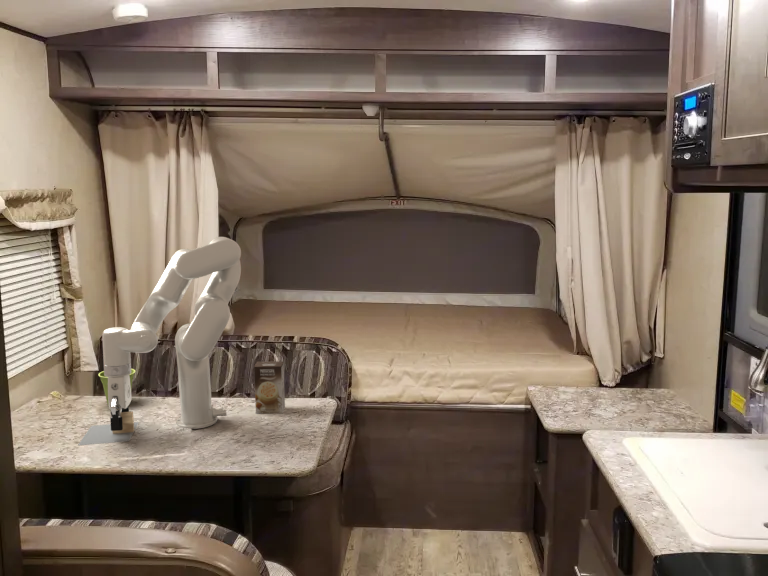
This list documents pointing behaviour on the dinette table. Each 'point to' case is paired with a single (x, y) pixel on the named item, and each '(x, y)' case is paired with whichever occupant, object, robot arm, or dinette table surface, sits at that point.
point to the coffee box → (269, 387)
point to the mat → (104, 435)
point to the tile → (126, 423)
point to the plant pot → (105, 382)
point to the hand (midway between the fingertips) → (120, 424)
